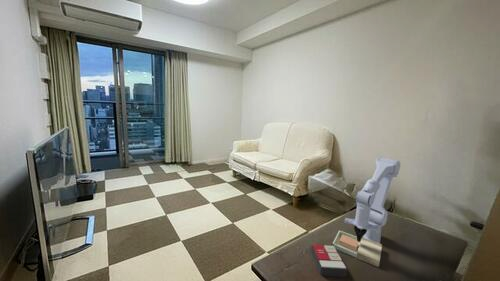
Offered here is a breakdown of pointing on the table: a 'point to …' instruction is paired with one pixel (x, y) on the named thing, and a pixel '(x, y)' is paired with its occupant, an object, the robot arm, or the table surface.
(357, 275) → the table surface
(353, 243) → the tile
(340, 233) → the box
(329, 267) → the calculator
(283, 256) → the table surface
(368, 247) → the bench plate
